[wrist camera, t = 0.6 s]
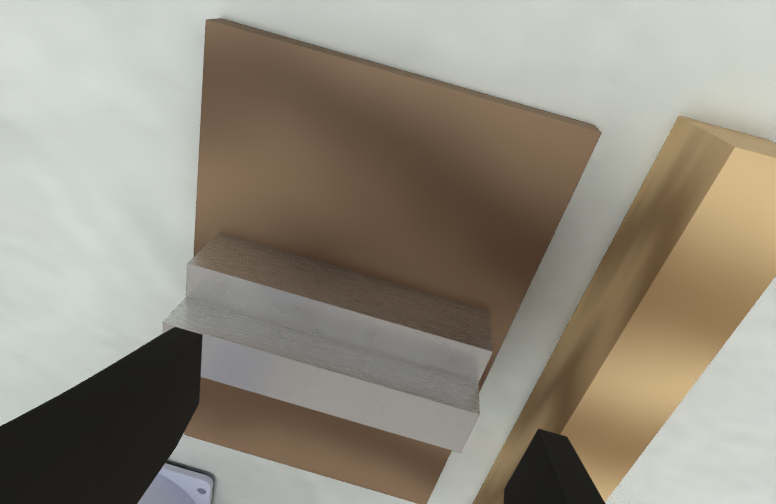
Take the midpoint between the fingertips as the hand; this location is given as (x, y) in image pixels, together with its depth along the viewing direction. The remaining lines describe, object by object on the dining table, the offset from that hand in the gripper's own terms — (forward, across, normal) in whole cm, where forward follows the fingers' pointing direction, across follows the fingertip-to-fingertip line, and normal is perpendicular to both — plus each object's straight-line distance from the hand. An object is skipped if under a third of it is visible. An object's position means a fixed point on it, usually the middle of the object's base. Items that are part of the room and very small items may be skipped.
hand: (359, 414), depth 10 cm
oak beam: (+10, -9, +5) cm, 14 cm away
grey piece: (+10, +2, +5) cm, 11 cm away
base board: (+10, +2, +5) cm, 11 cm away
